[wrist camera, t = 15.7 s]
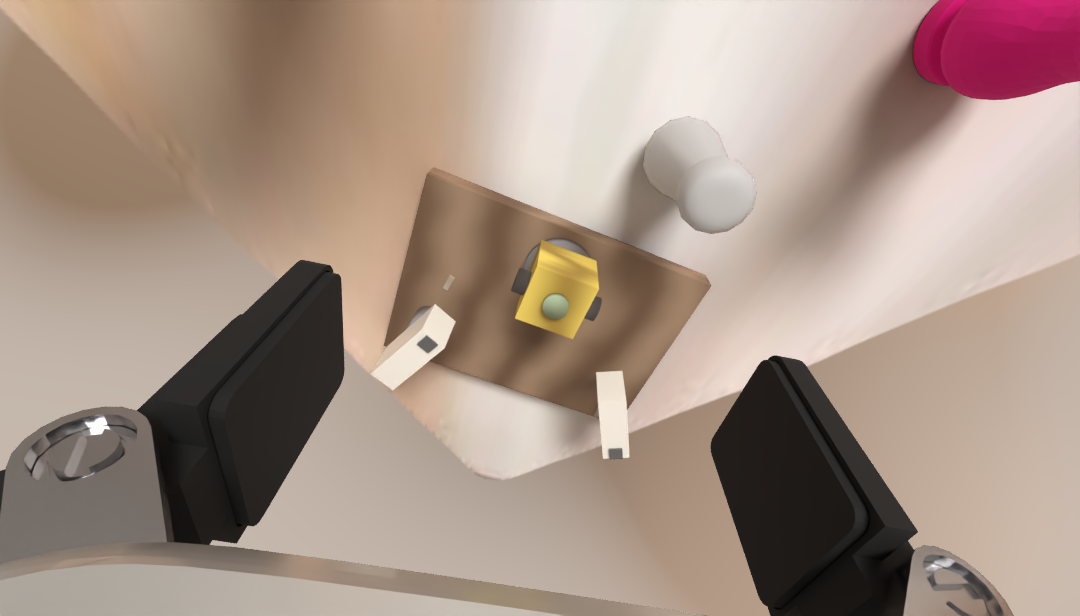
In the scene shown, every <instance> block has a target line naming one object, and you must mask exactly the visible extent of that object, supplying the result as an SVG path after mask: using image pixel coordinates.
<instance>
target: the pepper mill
mask: <svg viewBox="0 0 1080 616" xmlns="http://www.w3.org/2000/svg"><path fill="white" fill-rule="evenodd" d="M913 58H914V63H915V66H916V69H917V71H918V72H919V74H920V75H921V76H922V77H923V78H924V79H926V80H928V81H929V82H932V83H935V84H940V85H947V86H951V87H952V88H953V89H954V90H955V91H957V92H959V93H961V94H963V95H964V96H967V97H970V98H976V99H986V100H1003V99H1011V98H1016V97H1022V96H1027V95H1031V94H1034V93H1037V92H1040V91H1043V90H1046V89H1049V88H1052V87H1055V86H1058V85H1061V84H1065V83H1070V82H1076V81H1080V0H940V1H939V2H938V3H936V5H935V6H934V7H933V8H932V9H931V11H930V12H929V13H928V14H927V16H926V17H925V19H924V20H923V22H922V24H921V26H920V27H919V30H918V33H917V36H916V39H915V42H914V54H913Z"/></svg>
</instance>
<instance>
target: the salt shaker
mask: <svg viewBox="0 0 1080 616" xmlns="http://www.w3.org/2000/svg"><path fill="white" fill-rule="evenodd" d="M643 168H644V170H645V173H646V176H647V178H648V181H649V182H650V183H651V184H652V185H653V186H654V187H655V188H656V189H657V190H658V191H659V192H660V193H662V194H664V195H665V196H667V197H669V198H671V199H673V200H675V201H676V203H677V206H678V208H679V211H680V214H681V217H682V218H683V219H684V220H685V221H686V222H687V223H688V224H689V225H690V226H691V227H692V228H694V229H695V230H697V231H701V232H705V233H709V234H714V233H720V232H726V231H729V230H730V229H732V228H734V227H735V226H737V225H738V224H740V223H742V222H743V220H744V219H745V218H746V217H747V215H748V214H749V213H750V212H751V210H752V209H753V206H754V202H755V198H756V194H757V192H756V187H755V183H754V178H753V176H752V173H751V172H750V171H749V170H748V169H747V168H746V167H744V166H743V165H742V164H741V163H740V162H739V161H737V160H735V159H731V158H728V156H727V154H726V151H725V148H724V146H723V143H722V141H721V138H720V135H719V133H718V132H717V131H716V130H715V129H714V128H713V127H712V126H711V125H710V124H709V123H708V122H707V121H704V120H700V119H697V118H693V117H689V116H688V117H683V118H679V119H674V120H670V121H669V122H667V123H666V124H664V125H663V126H662V127H660V128H659V129H657V130H656V131H655V132H654V134H653V135H652V137H651V139H650V141H649V142H648V144H647V146H646V148H645V155H644V162H643Z"/></svg>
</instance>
